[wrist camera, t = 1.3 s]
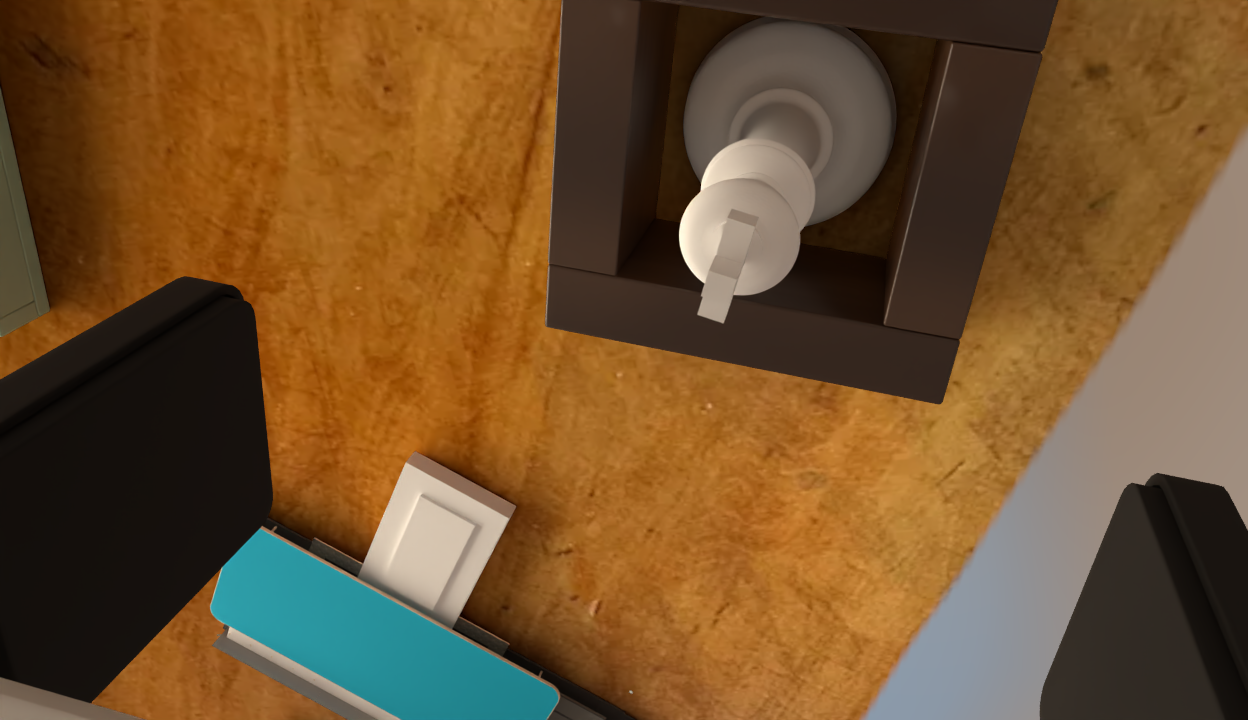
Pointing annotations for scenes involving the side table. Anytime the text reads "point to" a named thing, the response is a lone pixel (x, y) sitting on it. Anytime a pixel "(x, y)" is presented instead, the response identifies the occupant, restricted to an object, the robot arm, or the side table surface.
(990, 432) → the side table surface
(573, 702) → the phone stand
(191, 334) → the robot arm
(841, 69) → the chess piece
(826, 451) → the side table surface
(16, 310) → the tray
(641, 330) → the frame
